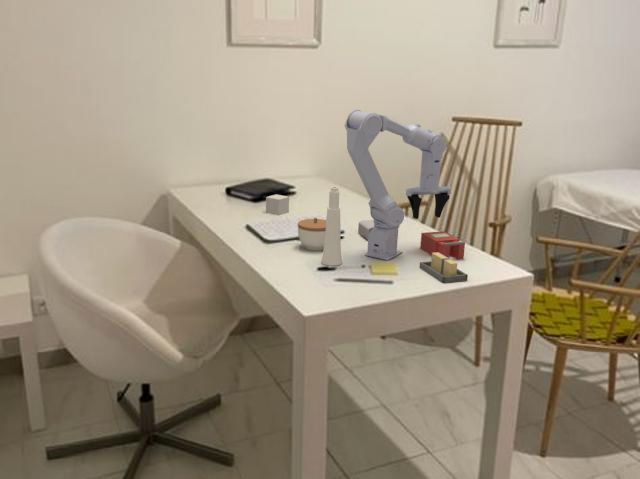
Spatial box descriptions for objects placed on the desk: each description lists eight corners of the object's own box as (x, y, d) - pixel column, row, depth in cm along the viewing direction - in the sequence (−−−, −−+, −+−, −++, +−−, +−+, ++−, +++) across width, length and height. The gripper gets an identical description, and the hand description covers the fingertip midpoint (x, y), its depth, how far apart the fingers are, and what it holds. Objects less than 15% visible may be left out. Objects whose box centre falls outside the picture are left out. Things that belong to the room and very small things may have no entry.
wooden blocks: (456, 277, 177) (457, 263, 176) (449, 278, 176) (450, 263, 175) (437, 266, 186) (438, 252, 185) (430, 266, 185) (431, 252, 184)
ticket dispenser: (465, 258, 195) (466, 242, 194) (441, 261, 192) (443, 244, 191) (442, 246, 207) (444, 230, 205) (420, 248, 204) (421, 232, 202)
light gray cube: (288, 212, 242) (289, 196, 241) (278, 215, 238) (279, 199, 236) (276, 210, 246) (276, 194, 244) (265, 213, 241) (266, 197, 239)
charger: (376, 227, 226) (394, 240, 213) (351, 229, 223) (367, 241, 210) (377, 214, 225) (395, 226, 211) (352, 215, 222) (368, 227, 208)
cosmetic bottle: (346, 262, 188) (349, 187, 182) (332, 267, 184) (335, 190, 178) (330, 257, 192) (333, 184, 186) (316, 262, 188) (319, 187, 181)
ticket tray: (467, 280, 177) (467, 274, 176) (442, 283, 174) (443, 277, 174) (442, 265, 189) (443, 260, 188) (419, 267, 186) (419, 262, 186)
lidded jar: (338, 246, 203) (339, 217, 201) (320, 255, 195) (321, 224, 192) (308, 240, 209) (309, 211, 206) (290, 248, 200) (291, 218, 197)
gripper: (415, 177, 191) (411, 222, 195) (458, 175, 196) (454, 219, 200) (403, 172, 198) (401, 216, 202) (445, 171, 203) (442, 213, 207)
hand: (426, 217), depth 201 cm, fingers open, 7 cm apart
